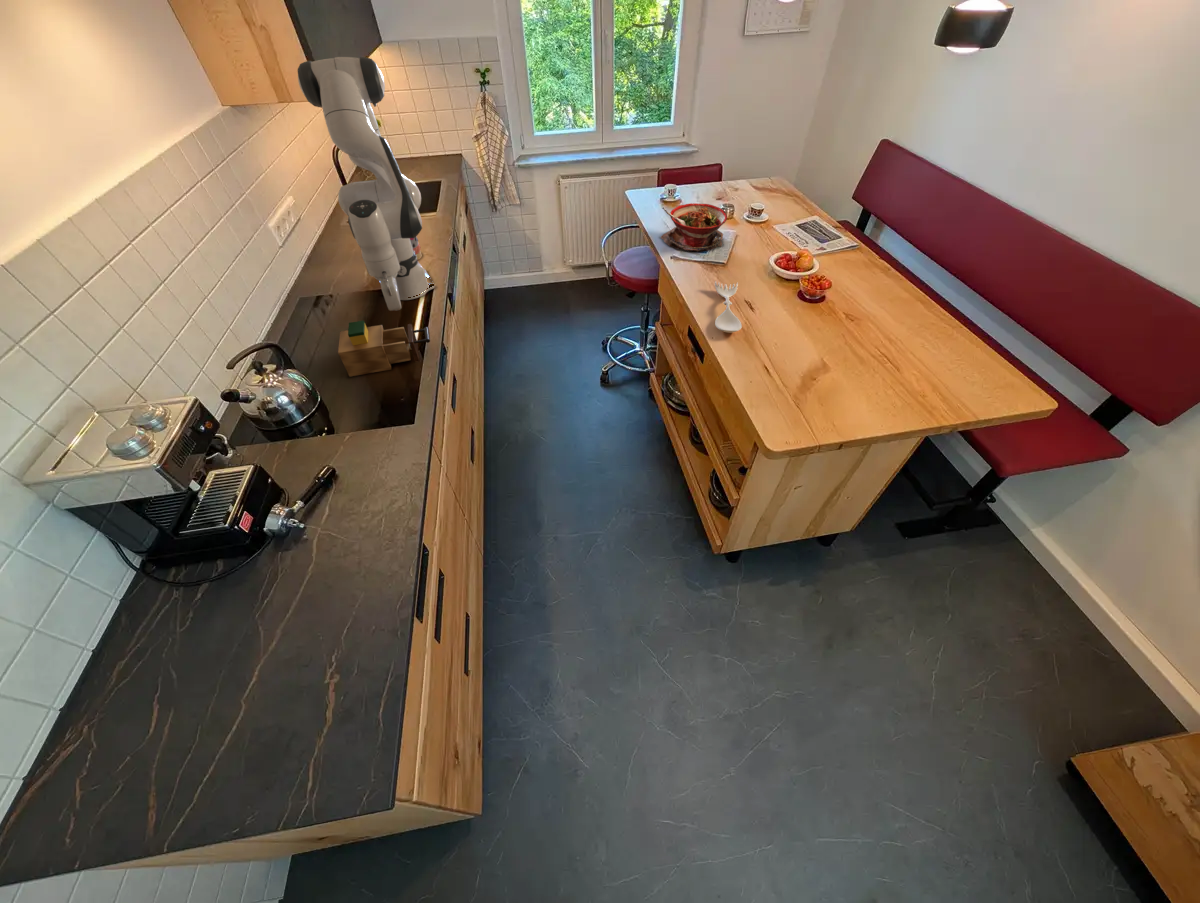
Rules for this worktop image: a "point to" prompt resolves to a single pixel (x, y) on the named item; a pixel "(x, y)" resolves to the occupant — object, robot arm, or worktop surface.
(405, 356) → the drawer
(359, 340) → the sponge
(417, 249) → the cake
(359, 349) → the cabinet
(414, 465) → the worktop surface
